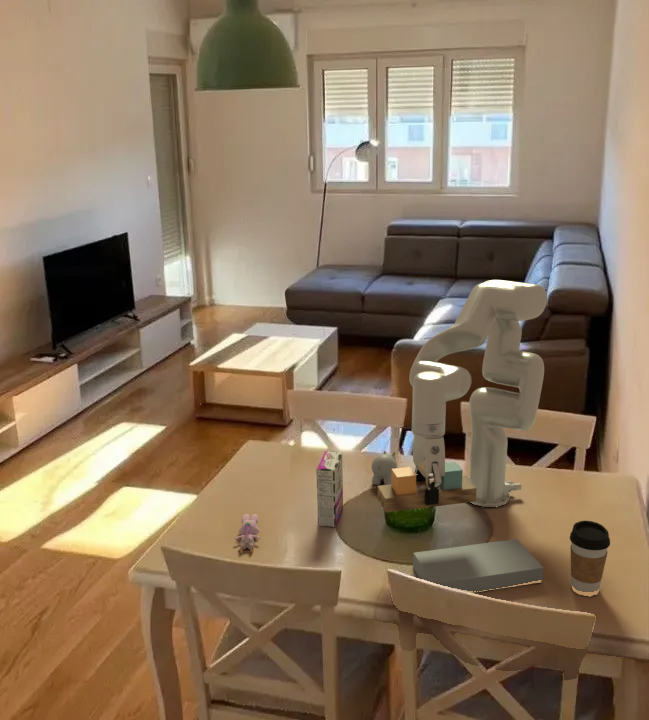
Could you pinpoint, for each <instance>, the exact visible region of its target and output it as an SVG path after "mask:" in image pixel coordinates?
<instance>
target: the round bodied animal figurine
mask: <svg viewBox="0 0 649 720" xmlns="http://www.w3.org/2000/svg"><path fill="white" fill-rule="evenodd" d="M395 468H398V464H397V460H396V451H394V452H391V453H389V452H387V451H386V450H383V453H381V454H378V455H376V457H375V458H373V460H372V463H371V471H372V473H373V476H372V479H371V483H372V485H374V486H381V483H382V482H383V485H390V484H391V475H392V469H395Z"/></svg>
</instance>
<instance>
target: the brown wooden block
mask: <svg viewBox="0 0 649 720" xmlns="http://www.w3.org/2000/svg"><path fill="white" fill-rule="evenodd" d="M429 480H430V483H431V482H433V480H434V479H429ZM425 489H427V486H426V481H418V482H416V493H411V494H402V495H397V494H396V493H395V491H394V490H393V488H392V487H391V484H390V485H384V484H383V485H381V484H380V485H377V501H378V502H380V506H381V508H383V511H384V512H385V513H391V512H400V511H408V510H415V509H416V510H418V509H425V508H433V507H442V506H449V505H458V504H459V505H460V504H466V503H467V504H469V503H468V502H476V492H477V488H476V487H475V486H474V484H473V483H472V482H471V481H470V480H469V478H468V476H467V475H462V488H455V489H446V490H443V488H442V487H441V486H440V489H439V503H438V504H433V505H426V504H425Z"/></svg>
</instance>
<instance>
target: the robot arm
mask: <svg viewBox="0 0 649 720" xmlns="http://www.w3.org/2000/svg"><path fill="white" fill-rule="evenodd" d="M472 288H473V289H471V291H470V293H469V295H468V297H467V298H466V301H465V302H464V305H463V307H462V308H461V310H460V312H459V314H458V315H457V318H456V319H455V322H454V323H453V325H451V326H450V327H448V328H446V329H444V330H442V331H441V332H438V333H437V334H436V335H434V336H433V337H431V338H430V339H428V340H427V341H425V343H424V344H423V345H422V346H421V348H420V350H419V352H418V353H417V356H416V357H415V359H414V360H413V362H412V366H411V368H410V371H409V379H408V380H409V383H410V386H411V387H412V406H411V407H412V410H411V412H412V413H411V414H412V415H411V432H412V435H413V440H412V441H413V444H412V460H413V464H414V466H415V468H414V473H415V474H416V482H418V481H426V486H427V489H425V504H426V505H433V504H438V503H439V489H440V484H441V477H440V476H442V477H444V476H445V463H446V447H445V439H444V435H445V434H446V415H447V414H446V412H447V402H450V401H453V400H454V401H455V400H458V399H460V398H462V397H464V396H466V395H467V393H468V392H469V390H470V389H471V385H472V375H471V373H470V371H469V370H468V369H466V368H464V367H462V366H458V365H453V364H449V363H443V362H438V361H439V360H441V359H442V358H444V357H446V356H449V355H452V354H455V353H460V352H463V351H468V350H472V349H476V348H479V347H481V346H482V345H484V344H485V342H486V345H485V350H484V355H483V361H482V369H481V373H482V376H483V378H484V379H485V380H486V381H488V382H491V383H495V384H498V385H503V386H509V387H513V388H514V387H515V388H518V389H519V392H514V391H511V390H510V391H509V390H505V389H500V388H497V387H490V386H486V387H485V386H483V387H478V388H476V389H475V390H474V391H473V392H472V393H471V395H470V398H469V402H468V403H469V405H468V407H469V415H470V424H471V440H470V441H471V443H470V459H469V463H470V465H469V478H468V479H469V480H470V481H471V482H472V483H473V484H474V486H475V487H476V488H477V492H476V502H470V503H472V504H475V505H479V506H483V507H482V508H484V507H496V506H500V505H504V504H505V503H507V502H508V501H509V502H510V500H509V499H510V498H511V497H510V496H511V495H510V493H511V492H512V491H521V490H522V484H521V482H516V483H513V480H507V481H506V472H507V459H508V458H507V457H508V456H507V455H508V435H507V433H506V430H505V429H506V428H507V429H510V430H514V431H521V432H525V431H527V432H528V431H529V430H531V429H532V427H533V426H534V423H535V421H536V419H537V416H538V415H537V413H538V409H539V405H540V404H539V403H540V398H541V393H542V388H543V384H544V383H543V382H544V378H545V377H544V375H545V364H544V360H543V358H542V357H541V356H540V355H539V354H537V353H533V352H529V351H523V350H520V347H521V339H522V330H523V329H522V327H521V324H520V323H519V322H524V321H528V320H534V319H536V318H538V317H540V316H541V315H542V314H543V312H544V311H545V308H546V306H547V301H548V297H547V292H546V290H545V288H544V287H543V286H542V285H541V284H534V283H529V282H520V281H513V280H503V279H491V280H486V281H484V282H481V283H478V284H476V285H475V286H474V287H472ZM430 474H432V475H430ZM430 480H433V482H431V483H430ZM509 502H508V503H509ZM470 503H469V504H470ZM508 503H507V504H508ZM472 504H471V505H472ZM475 505H474V506H475ZM504 506H505V505H504ZM496 508H497V507H496Z"/></svg>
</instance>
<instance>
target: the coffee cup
mask: <svg viewBox="0 0 649 720" xmlns="http://www.w3.org/2000/svg"><path fill="white" fill-rule="evenodd" d="M569 535H570V536H569V540H570V542H571V544H570V546H569V547H570V586H571V585H572V586H573V587H574V588H575V589H576V590H578V591H582V592H594V591H597V590H598V589H599V588H600V589H601V584H602V578H603V574H604V570H605V566H606V562H607V556H608V548H609V547H610V545H611V538H610V535H609V531H608V529H607V528H606V527H605V526H603V525H602V524H601V523H599V522H596V521H591V520H580V521H577V522H575V523H574V524H573V526H572V531H571V532H570V534H569ZM600 589H599V590H600Z"/></svg>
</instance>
